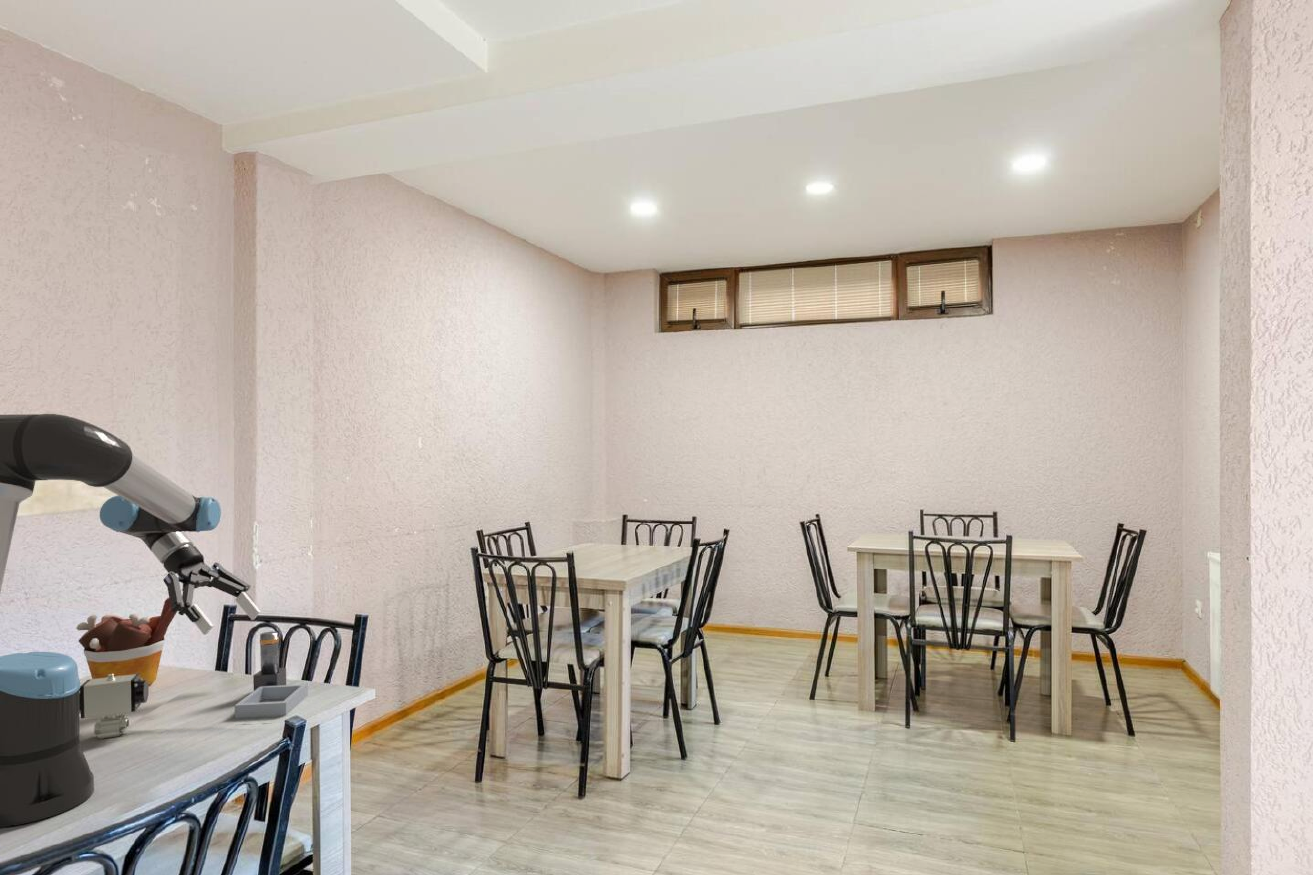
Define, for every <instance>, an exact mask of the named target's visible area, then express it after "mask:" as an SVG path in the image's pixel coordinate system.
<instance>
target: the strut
mask: <svg viewBox="0 0 1313 875" xmlns="http://www.w3.org/2000/svg"><path fill="white" fill-rule="evenodd" d="M279 643H280V636H279V632H278V631H267V632H266V631H265V632H262V633H260V635H259V644H260V646H259V647H260V654H259V655H260V670H259V671H258V672H256V673H255V674H254V675H252V676H253V691H255V690H256V689H257V688H259V687H260V686H280V685H287V667H280V662H279V661H280V660H279V657H280V655H279Z"/></svg>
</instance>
